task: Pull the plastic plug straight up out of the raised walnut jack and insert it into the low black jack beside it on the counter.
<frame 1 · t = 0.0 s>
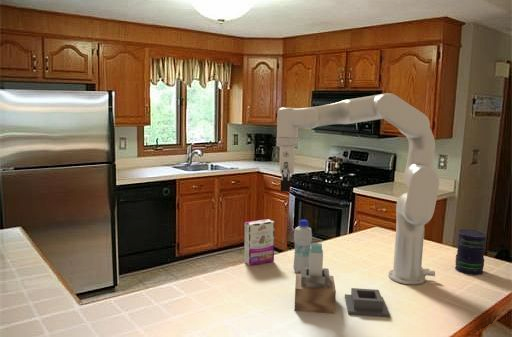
hand: (285, 188, 158), 31 cm above the worktop, tool pointing down, fingers open, 9 cm apart
plug: (314, 281, 135), point 7 cm above the worktop, touching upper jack
storage jar: (468, 271, 167), on the worktop
candy bar box: (258, 262, 172), on the worktop
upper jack: (314, 303, 136), on the worktop
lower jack: (366, 306, 134), on the worktop
bottle: (301, 272, 162), on the worktop
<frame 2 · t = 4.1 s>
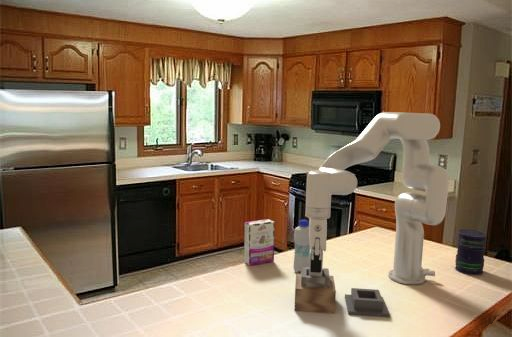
hand: (315, 268, 134), 11 cm above the worktop, tool pointing down, fingers closed on plug, 4 cm apart
plug: (314, 281, 135), point 7 cm above the worktop, touching gripper, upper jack
everything else where it was.
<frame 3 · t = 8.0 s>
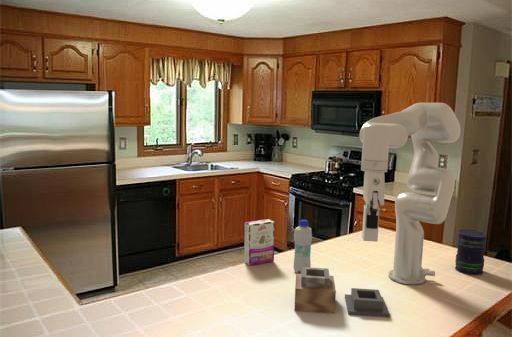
hand: (370, 225, 130), 26 cm above the worktop, tool pointing down, fingers closed on plug, 4 cm apart
plug: (369, 239, 131), point 22 cm above the worktop, touching gripper
everything else where it was.
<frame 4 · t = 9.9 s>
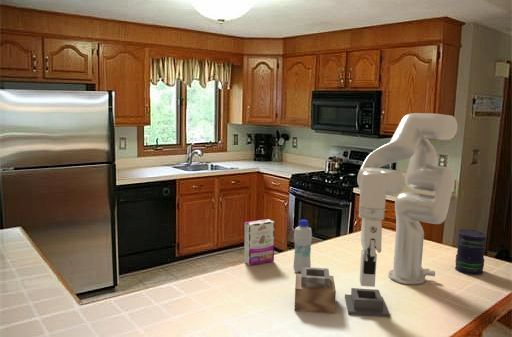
hand: (367, 270, 132), 12 cm above the worktop, tool pointing down, fingers closed on plug, 4 cm apart
plug: (367, 283, 133), point 8 cm above the worktop, touching gripper
everything else where it was.
when the fingers open (7 cm above the worktop, at t = 11.7 s): plug drops 1 cm, resting on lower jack.
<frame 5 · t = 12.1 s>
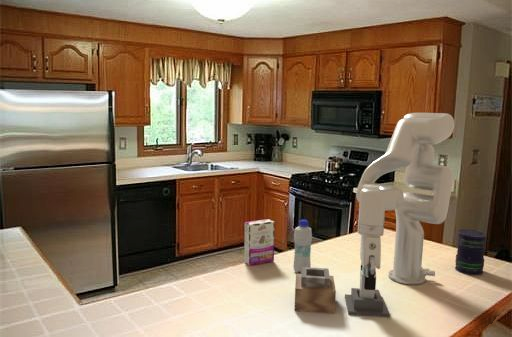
hand: (367, 283, 133), 8 cm above the worktop, tool pointing down, fingers open, 8 cm apart
plug: (366, 303, 134), point 1 cm above the worktop, touching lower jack
everything else where it was.
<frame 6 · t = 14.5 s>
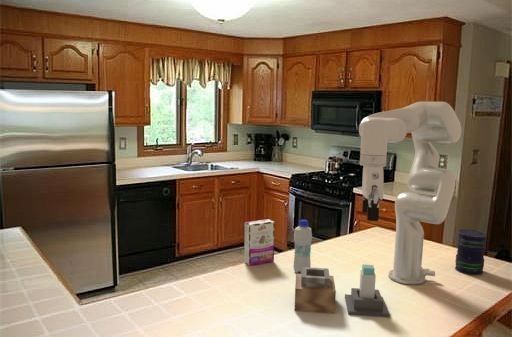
hand: (369, 216, 131), 28 cm above the worktop, tool pointing down, fingers open, 9 cm apart
nothing on the worktop moved.
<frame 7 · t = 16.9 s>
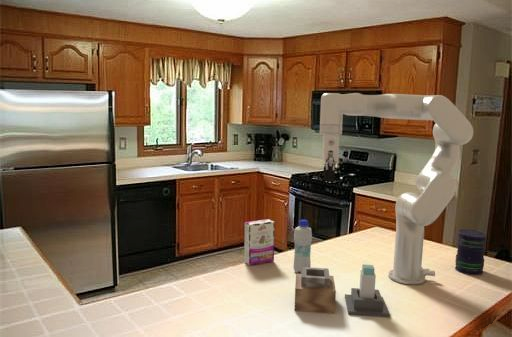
hand: (328, 179, 150), 36 cm above the worktop, tool pointing down, fingers open, 9 cm apart
nothing on the worktop moved.
at the end: plug 0.0 cm off-centre on the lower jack, point 1.0 cm above the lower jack's base; plug tilted 0°; the gripper is holding nothing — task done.
